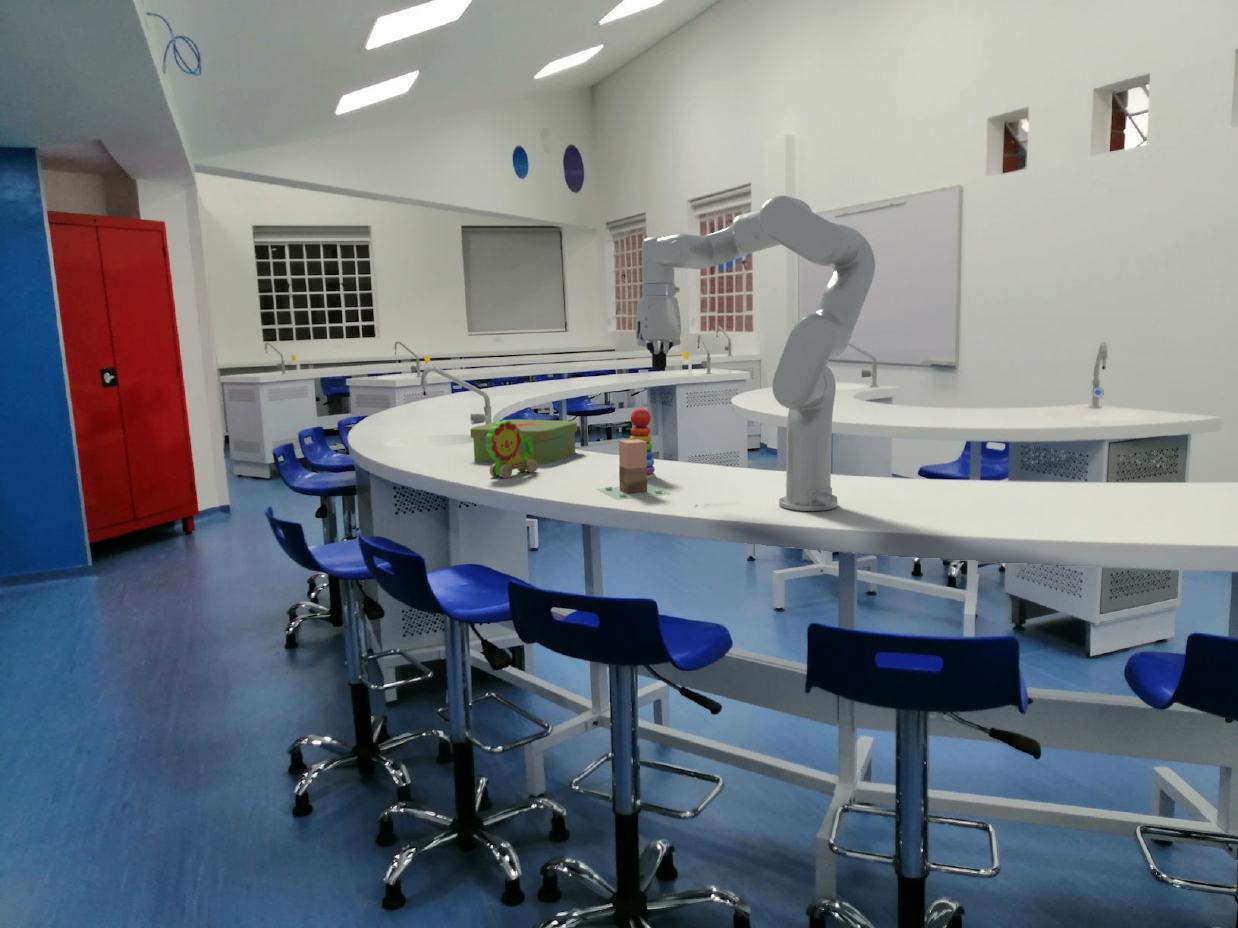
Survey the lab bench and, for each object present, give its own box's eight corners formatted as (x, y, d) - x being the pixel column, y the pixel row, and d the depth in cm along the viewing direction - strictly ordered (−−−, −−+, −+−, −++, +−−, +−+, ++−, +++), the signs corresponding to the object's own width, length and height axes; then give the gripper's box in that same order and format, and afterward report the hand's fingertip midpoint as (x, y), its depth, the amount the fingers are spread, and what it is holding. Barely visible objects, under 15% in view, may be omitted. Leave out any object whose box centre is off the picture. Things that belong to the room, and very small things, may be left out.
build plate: (672, 498, 205) (672, 491, 205) (616, 503, 200) (616, 496, 200) (648, 487, 218) (648, 481, 218) (595, 493, 213) (595, 486, 213)
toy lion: (524, 470, 248) (522, 416, 245) (538, 472, 244) (537, 417, 242) (482, 478, 236) (480, 422, 233) (496, 480, 232) (494, 423, 230)
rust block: (647, 467, 207) (646, 441, 206) (627, 468, 205) (626, 443, 204) (639, 464, 211) (638, 439, 210) (619, 465, 209) (619, 440, 208)
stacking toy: (653, 483, 223) (652, 410, 220) (622, 483, 225) (620, 410, 222) (658, 478, 231) (657, 407, 228) (628, 477, 233) (626, 407, 230)
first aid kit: (466, 461, 267) (465, 428, 265) (510, 449, 290) (509, 418, 289) (543, 465, 256) (542, 431, 255) (582, 452, 280) (581, 421, 278)
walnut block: (647, 492, 208) (646, 467, 207) (627, 494, 206) (627, 468, 205) (638, 488, 212) (638, 464, 211) (619, 490, 210) (619, 465, 209)
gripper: (680, 292, 212) (681, 368, 215) (622, 292, 207) (624, 371, 210) (694, 291, 205) (694, 370, 208) (634, 291, 200) (636, 373, 203)
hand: (659, 370), depth 209 cm, fingers closed
